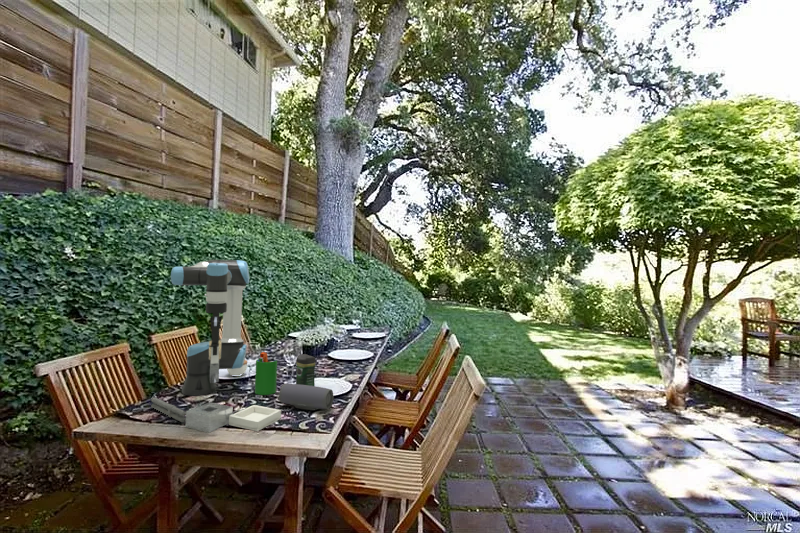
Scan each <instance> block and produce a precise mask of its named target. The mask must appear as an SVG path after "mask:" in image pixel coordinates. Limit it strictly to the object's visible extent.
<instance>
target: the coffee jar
mask: <svg viewBox="0 0 800 533" xmlns="http://www.w3.org/2000/svg"><path fill="white" fill-rule="evenodd" d="M295 360H296V361H295V363H296V377H295V378H296V380H295V384H300V385H309V386H316V385H315V367H316V357H314V356H312V355H308V354H306V353H304V354H303V353H302V354H298V355H297V356H296V359H295Z"/></svg>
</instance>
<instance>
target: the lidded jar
mask: <svg viewBox="0 0 800 533" xmlns="http://www.w3.org/2000/svg"><path fill="white" fill-rule="evenodd" d="M247 367H248V360H246V359H245V360H244V364H243V366H242V367H241V368H235V369H226V370H227V372H228V375H230V376H231V375H240V374H243V373H244V374H245V372H246V371H247ZM244 374H243V375H244Z"/></svg>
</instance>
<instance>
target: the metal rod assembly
mask: <svg viewBox="0 0 800 533" xmlns="http://www.w3.org/2000/svg"><path fill="white" fill-rule="evenodd" d="M151 402H152V404H151V405H150V406H151V408H152V409H153V408H154V409H153V410H155V409H156V411H157V410H158V412H159V411H160V412H159V413H161V412H162V413H161V414H163V413H164V414H163V415H165V414H166V415H165V416H167V415H168V416H167V417H169V418H170V419H174V420H176V421H179V422H180V423H183V424H184V423H186V411H185V410H183V409H181V408H179V407H177V406H176V405H174V404H171V403H168V402H167V401H166V402H165V401H164V400H162V399H159V398H157V397H156V396H154V397H152V398H151ZM171 417H172V418H171Z"/></svg>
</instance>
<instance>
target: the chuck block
mask: <svg viewBox="0 0 800 533" xmlns="http://www.w3.org/2000/svg"><path fill="white" fill-rule="evenodd" d="M185 412H186V415H185V418H186V421H185V428H187V429H191V430H192V429H193V430H197V431H200V432H205V433H211V432H214V431H216V430H218V429H219V428H222V427H223V426H226V425H229V416H230V415H232V414H234V412H233V406H229V405H225V404H220V403H215V402H211V401H210V402H207V403H205V404H202V405H200V406H197V407H194V408H191V409H189V410H186V411H185Z"/></svg>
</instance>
